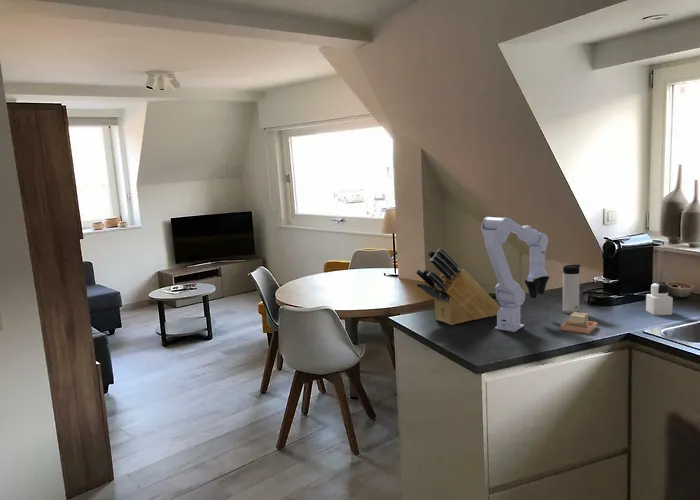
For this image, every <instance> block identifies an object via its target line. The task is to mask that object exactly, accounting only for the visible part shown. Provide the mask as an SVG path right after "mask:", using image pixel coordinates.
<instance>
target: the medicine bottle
mask: <svg viewBox="0 0 700 500" xmlns="http://www.w3.org/2000/svg"><path fill="white" fill-rule="evenodd" d="M673 298H674V297H672V296H670V295H669V284H667V283H662V282H654V283H652V284H651V285H650V293H647V294H646V295H645V311H646V312H647V313H649V314H651V315H652V316H672V315H673V301H674V300H673Z"/></svg>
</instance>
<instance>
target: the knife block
mask: <svg viewBox="0 0 700 500" xmlns="http://www.w3.org/2000/svg"><path fill="white" fill-rule="evenodd" d="M427 255H428V256H429V258H430V259H429V262H431V263H432V264H433V265H434V267H436V269H437V270H438V271H439V272H440V273H441V274H440V275H438V274H437V273H435V272H434V271H429V270H426V269H425V270H423V271H421V270H420V269H417V270H416V271H415V274H417V275H418V276H419V277H420V279H422V280H423V281H424V282H425V283H426V284H423V283H421V282H419V283H416V285H417V288H420V289H421V290H423V291H424V292H425V293H426V294H427V295H429V296H430V297H432V298H433V299H434V300H433V301H434V314H435V315H434V316H435V317H434V318H435V320H437V321H438V322H439V321H440V322H443V323H445V324H448V325H451V326H455V325H456V324H461V323H465V322H470V321H473V320H474V321H475V320H480V319H485V318H488V317H489V318H490V317H491V318H492V317H494V316H497V312H498V310H499V309H500V307H501V305H500V304H499V303H497V302H496V301H495V300H494V298H492V297H491V296H490V294H488V293H487V291H486V290H485V289H484V288H483V287H482V286H481V285H480V284H479V283H478V281H476V280H475V279H474V278H473V277H472V275H470V274H469V273H468V272H467V271H466V270H465V268H460V266H459V265H458V264H457V263H456V262H455V261H454V260H453V259H452V257H451V256H450V255H448V254H447V253H446V252H445V251H444V250H443V249H441V248H438V249H437V250H436V253H435V252H434V251H433V250H431V251H429V252H428V253H427Z"/></svg>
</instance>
